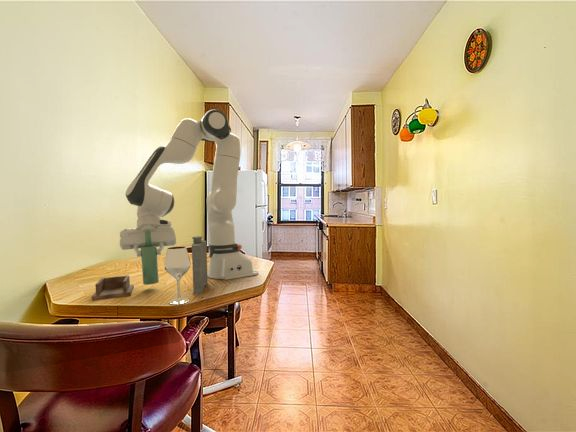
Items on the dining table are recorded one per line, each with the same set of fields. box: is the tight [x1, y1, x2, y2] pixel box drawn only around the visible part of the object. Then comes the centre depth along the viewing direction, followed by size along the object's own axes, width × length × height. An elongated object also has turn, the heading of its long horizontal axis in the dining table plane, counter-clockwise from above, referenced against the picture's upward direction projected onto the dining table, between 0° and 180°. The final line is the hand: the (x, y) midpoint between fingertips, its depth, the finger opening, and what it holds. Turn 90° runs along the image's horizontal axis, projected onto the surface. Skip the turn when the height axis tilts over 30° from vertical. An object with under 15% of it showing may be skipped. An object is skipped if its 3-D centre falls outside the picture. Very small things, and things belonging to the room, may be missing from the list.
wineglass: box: [163, 246, 192, 306], centre depth 102 cm, size 8×8×18 cm
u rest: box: [91, 274, 135, 301], centre depth 115 cm, size 12×12×5 cm
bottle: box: [140, 231, 160, 286], centre depth 119 cm, size 6×6×20 cm
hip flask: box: [191, 236, 209, 295], centre depth 118 cm, size 16×4×20 cm, turn 6°
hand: (149, 254), depth 118 cm, fingers closed on bottle, 5 cm apart
